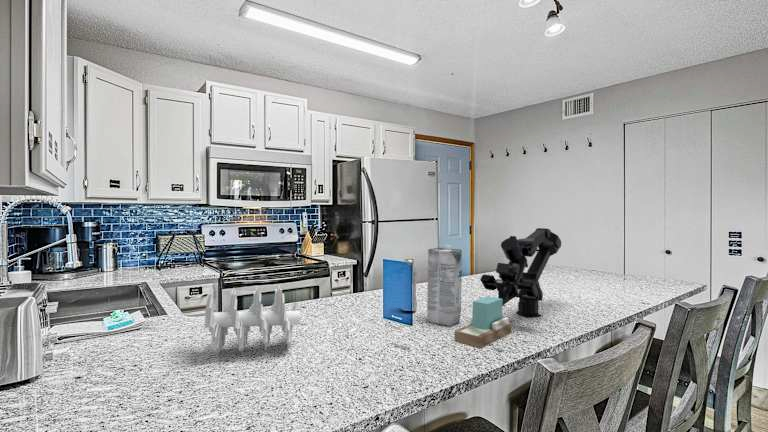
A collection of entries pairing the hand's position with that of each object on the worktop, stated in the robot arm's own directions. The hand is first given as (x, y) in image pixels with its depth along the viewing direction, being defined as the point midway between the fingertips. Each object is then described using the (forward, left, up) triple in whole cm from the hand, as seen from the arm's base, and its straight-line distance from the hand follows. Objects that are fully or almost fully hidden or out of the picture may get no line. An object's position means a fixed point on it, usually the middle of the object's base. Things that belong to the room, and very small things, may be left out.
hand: (499, 305), depth 132 cm
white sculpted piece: (+78, -3, -8) cm, 78 cm away
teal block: (+7, +4, -5) cm, 10 cm away
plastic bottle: (+22, -28, -8) cm, 36 cm away
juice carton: (+15, -12, -8) cm, 20 cm away
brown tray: (+9, +5, -8) cm, 13 cm away
